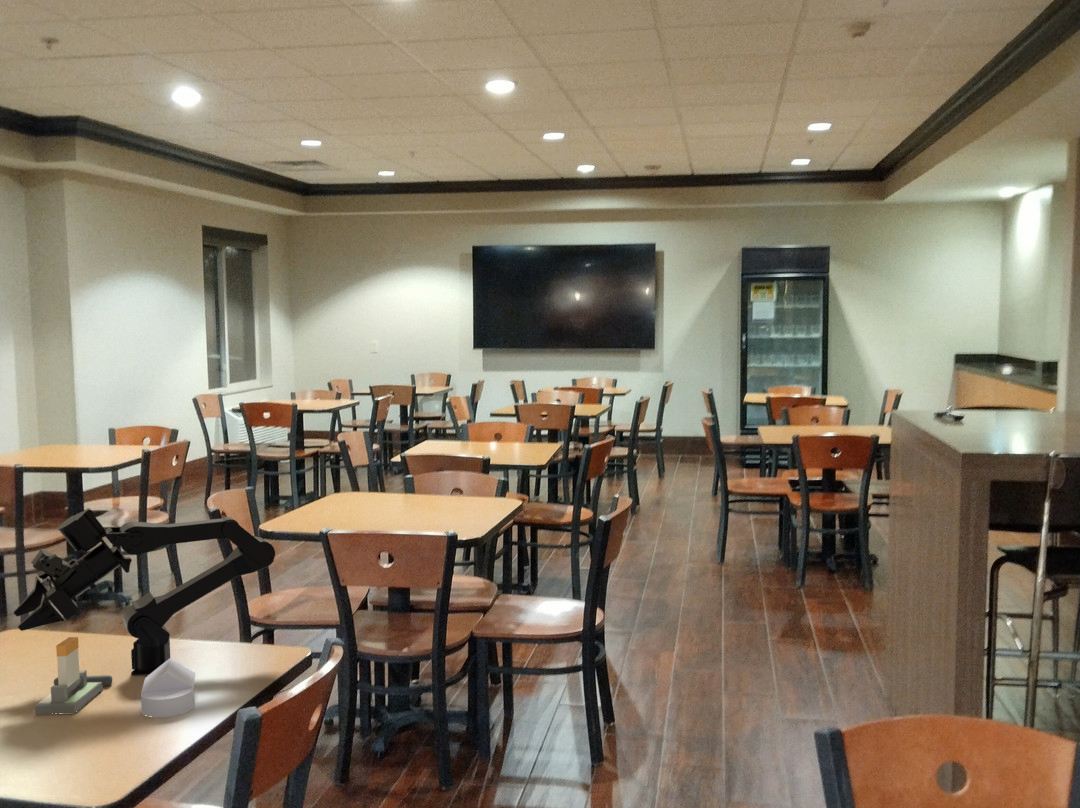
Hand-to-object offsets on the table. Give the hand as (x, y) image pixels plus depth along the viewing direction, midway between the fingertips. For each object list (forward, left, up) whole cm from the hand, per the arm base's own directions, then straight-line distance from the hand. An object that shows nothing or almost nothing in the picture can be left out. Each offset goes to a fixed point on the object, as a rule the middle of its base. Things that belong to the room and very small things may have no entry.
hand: (17, 621), depth 190 cm
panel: (-12, +5, -14) cm, 19 cm away
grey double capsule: (-11, -4, -14) cm, 18 cm away
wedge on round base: (-31, +7, -14) cm, 35 cm away
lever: (-12, +5, -11) cm, 17 cm away
